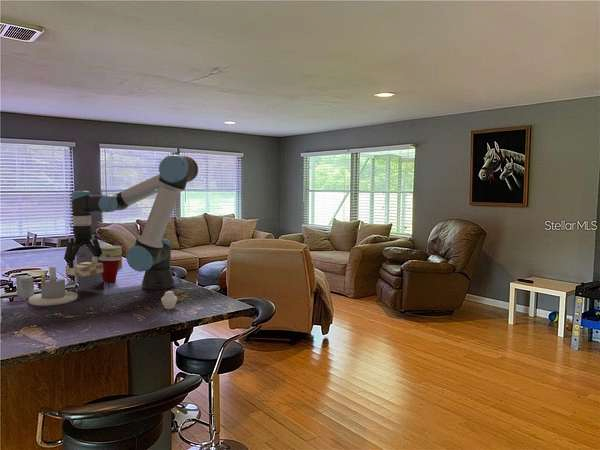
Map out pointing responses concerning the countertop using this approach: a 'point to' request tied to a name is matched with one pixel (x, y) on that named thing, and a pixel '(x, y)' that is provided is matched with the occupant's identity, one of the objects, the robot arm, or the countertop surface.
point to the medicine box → (24, 286)
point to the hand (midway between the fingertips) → (84, 272)
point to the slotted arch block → (86, 269)
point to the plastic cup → (109, 268)
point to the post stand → (52, 291)
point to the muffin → (169, 300)
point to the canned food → (112, 253)
